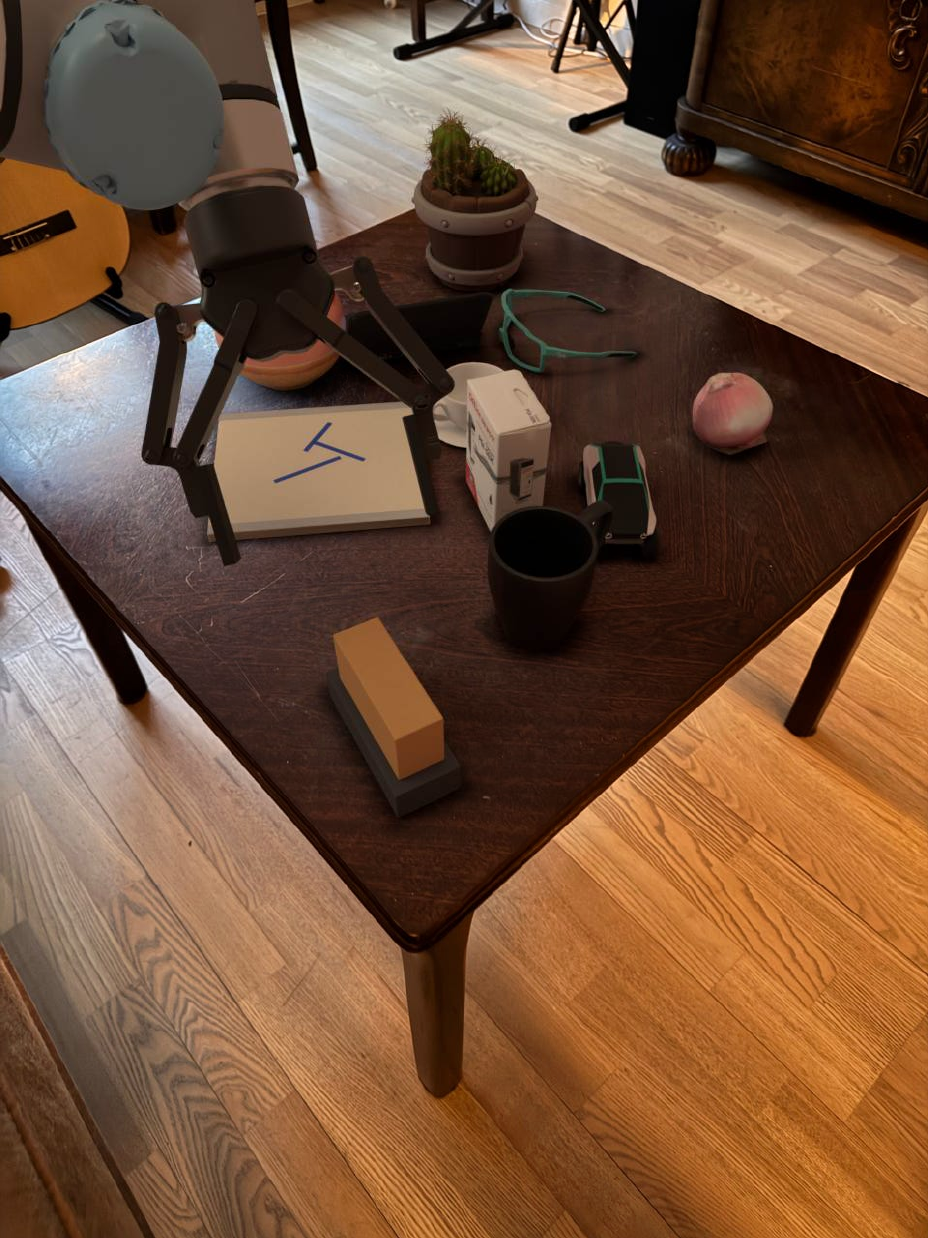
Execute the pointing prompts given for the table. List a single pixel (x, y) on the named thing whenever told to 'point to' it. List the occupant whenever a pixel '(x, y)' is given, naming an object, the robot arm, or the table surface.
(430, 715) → the eraser
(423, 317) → the game console
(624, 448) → the toy car
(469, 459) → the ink box
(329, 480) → the board
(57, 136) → the robot arm
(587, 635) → the table surface
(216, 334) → the vase
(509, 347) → the sunglasses
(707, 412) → the onion
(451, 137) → the flowerpot
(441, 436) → the teacup
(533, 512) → the mug
